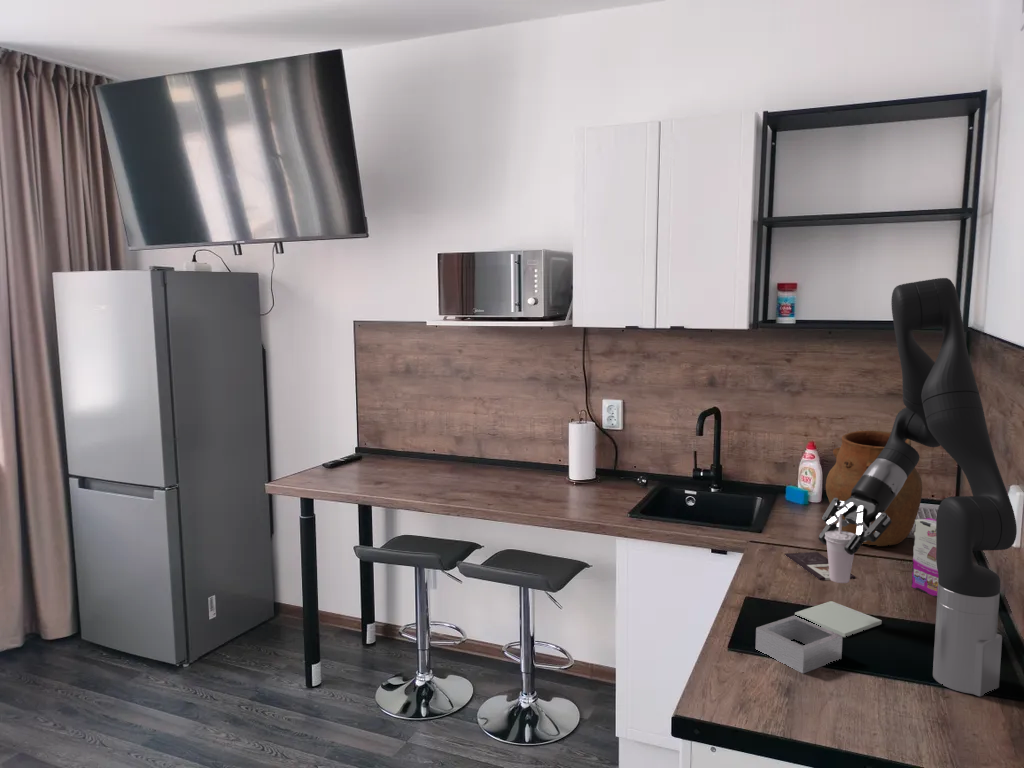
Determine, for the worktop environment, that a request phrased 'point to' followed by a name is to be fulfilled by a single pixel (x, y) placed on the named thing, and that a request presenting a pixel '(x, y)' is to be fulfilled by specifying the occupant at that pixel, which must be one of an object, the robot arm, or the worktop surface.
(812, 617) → the sage mat
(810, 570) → the chocolate bar
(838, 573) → the smoothie
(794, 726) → the worktop surface
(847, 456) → the pot
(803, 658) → the gray square open box
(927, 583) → the candy bar box
